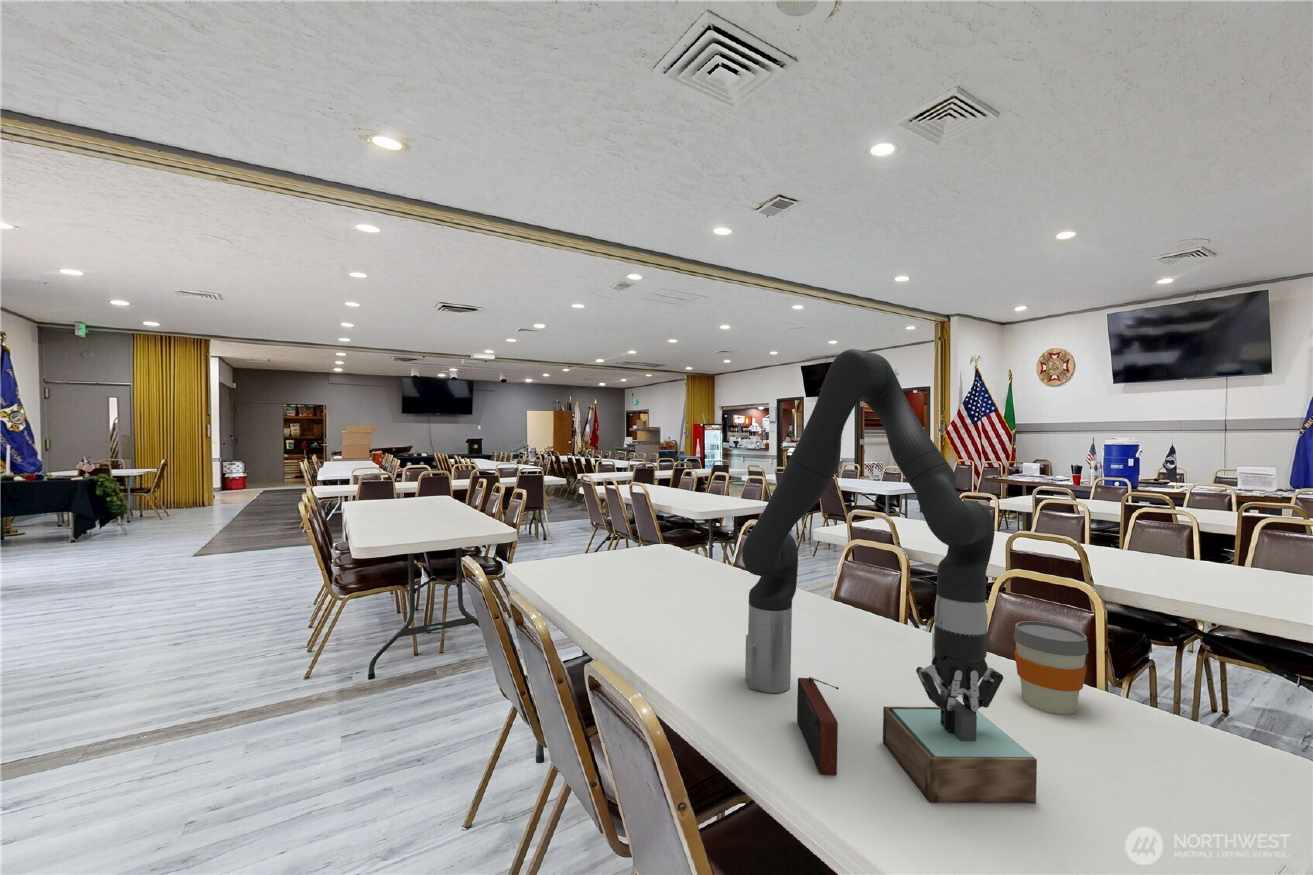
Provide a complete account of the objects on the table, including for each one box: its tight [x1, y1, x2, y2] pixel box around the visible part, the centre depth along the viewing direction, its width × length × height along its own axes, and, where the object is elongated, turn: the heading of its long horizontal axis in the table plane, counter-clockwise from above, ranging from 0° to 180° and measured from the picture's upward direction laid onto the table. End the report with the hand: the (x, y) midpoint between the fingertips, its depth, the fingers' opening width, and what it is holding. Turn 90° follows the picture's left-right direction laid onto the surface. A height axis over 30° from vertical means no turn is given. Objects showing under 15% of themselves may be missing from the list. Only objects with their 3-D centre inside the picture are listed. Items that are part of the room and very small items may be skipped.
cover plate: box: [892, 698, 1036, 759], centre depth 90 cm, size 15×14×5 cm
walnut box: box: [882, 706, 1038, 804], centre depth 90 cm, size 16×16×6 cm
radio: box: [796, 676, 839, 776], centre depth 95 cm, size 19×3×15 cm, turn 178°
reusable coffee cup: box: [1013, 620, 1089, 716], centre depth 114 cm, size 12×13×15 cm
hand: (958, 730), depth 90 cm, fingers closed on cover plate, 2 cm apart
